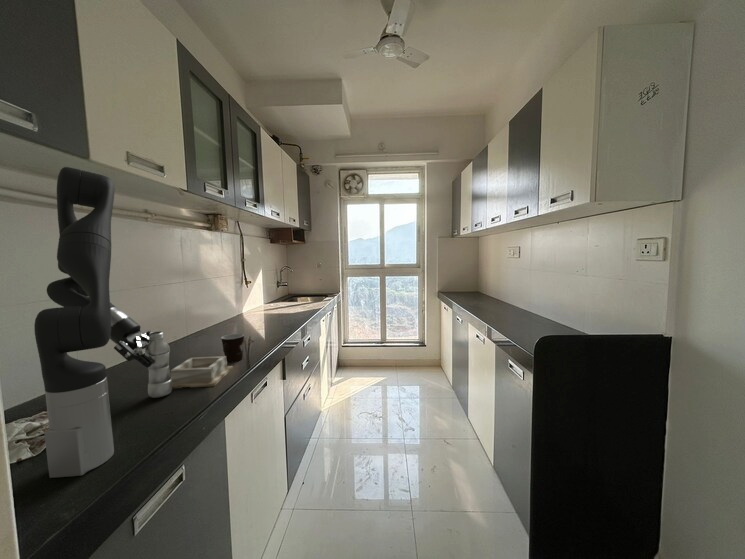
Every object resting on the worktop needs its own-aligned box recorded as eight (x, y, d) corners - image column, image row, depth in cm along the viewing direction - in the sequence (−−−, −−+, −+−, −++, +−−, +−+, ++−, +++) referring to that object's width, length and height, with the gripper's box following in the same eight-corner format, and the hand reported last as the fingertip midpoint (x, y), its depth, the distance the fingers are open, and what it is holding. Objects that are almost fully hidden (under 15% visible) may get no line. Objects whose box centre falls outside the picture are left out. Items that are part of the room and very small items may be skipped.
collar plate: (214, 386, 101) (213, 370, 100) (164, 388, 99) (162, 372, 99) (232, 368, 117) (231, 354, 116) (189, 370, 115) (188, 356, 115)
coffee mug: (235, 355, 132) (234, 332, 132) (249, 357, 129) (248, 334, 128) (211, 364, 122) (209, 339, 121) (226, 367, 118) (224, 342, 117)
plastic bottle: (144, 402, 91) (138, 336, 89) (153, 392, 97) (148, 331, 95) (168, 398, 92) (163, 334, 91) (176, 389, 99) (171, 329, 97)
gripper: (107, 321, 85) (153, 359, 87) (141, 312, 99) (180, 344, 101) (88, 341, 85) (135, 378, 87) (125, 328, 99) (165, 361, 101)
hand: (159, 360), depth 94 cm, fingers open, 8 cm apart
